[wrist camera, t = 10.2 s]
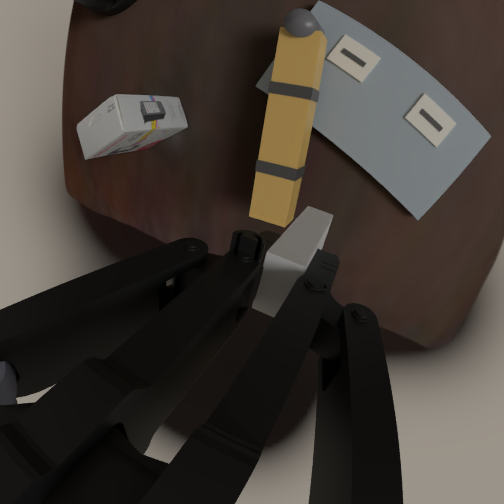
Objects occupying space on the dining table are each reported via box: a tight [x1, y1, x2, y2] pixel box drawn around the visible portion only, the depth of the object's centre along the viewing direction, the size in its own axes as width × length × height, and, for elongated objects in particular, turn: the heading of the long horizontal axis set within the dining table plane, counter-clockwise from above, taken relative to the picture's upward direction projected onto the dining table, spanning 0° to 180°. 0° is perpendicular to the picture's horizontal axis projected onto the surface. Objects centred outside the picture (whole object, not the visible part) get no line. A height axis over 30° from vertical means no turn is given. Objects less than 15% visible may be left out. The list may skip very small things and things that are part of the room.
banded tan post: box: [249, 8, 327, 227], centre depth 27 cm, size 22×4×5 cm, turn 170°
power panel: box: [256, 1, 491, 220], centre depth 26 cm, size 23×13×2 cm, turn 55°
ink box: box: [77, 94, 188, 160], centre depth 33 cm, size 9×5×12 cm, turn 109°
